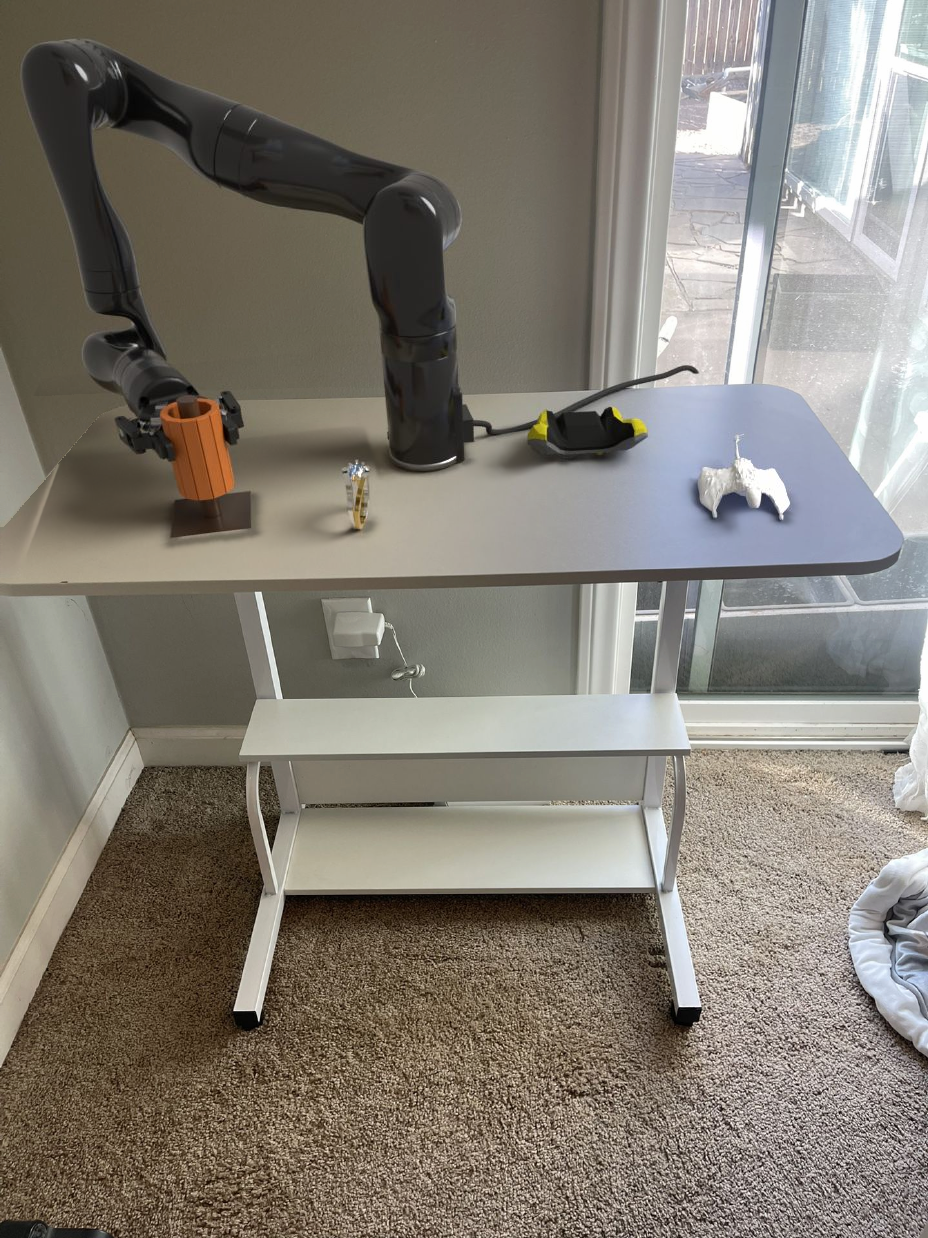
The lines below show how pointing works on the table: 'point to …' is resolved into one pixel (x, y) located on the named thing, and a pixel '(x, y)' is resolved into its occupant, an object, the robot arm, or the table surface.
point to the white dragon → (741, 484)
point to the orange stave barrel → (199, 451)
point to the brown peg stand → (212, 512)
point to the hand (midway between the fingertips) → (202, 444)
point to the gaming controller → (585, 433)
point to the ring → (362, 495)
